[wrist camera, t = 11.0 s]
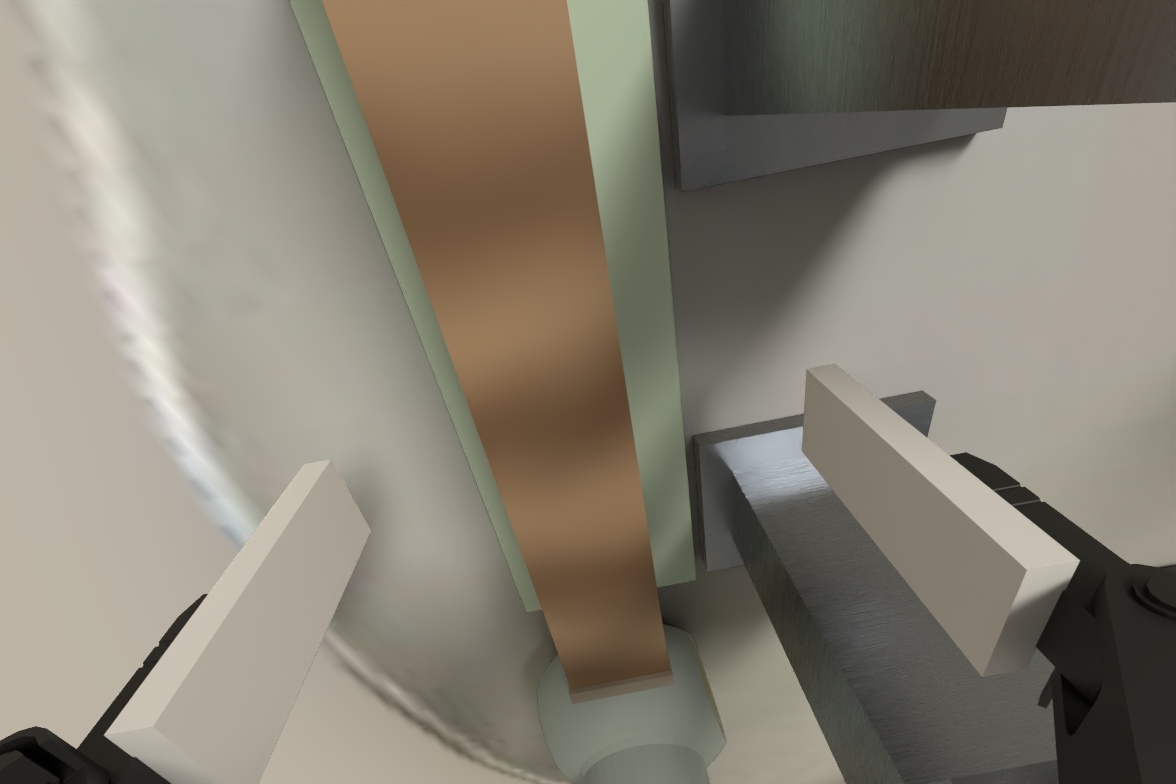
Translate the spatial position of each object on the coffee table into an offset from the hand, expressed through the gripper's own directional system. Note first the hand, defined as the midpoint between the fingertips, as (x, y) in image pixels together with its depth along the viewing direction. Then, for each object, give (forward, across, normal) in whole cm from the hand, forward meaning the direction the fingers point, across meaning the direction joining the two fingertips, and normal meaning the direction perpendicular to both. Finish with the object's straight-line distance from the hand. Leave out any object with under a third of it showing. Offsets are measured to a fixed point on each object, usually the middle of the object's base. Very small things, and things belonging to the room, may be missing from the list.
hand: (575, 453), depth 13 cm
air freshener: (+6, 0, +19) cm, 20 cm away
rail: (+5, 0, -1) cm, 5 cm away
